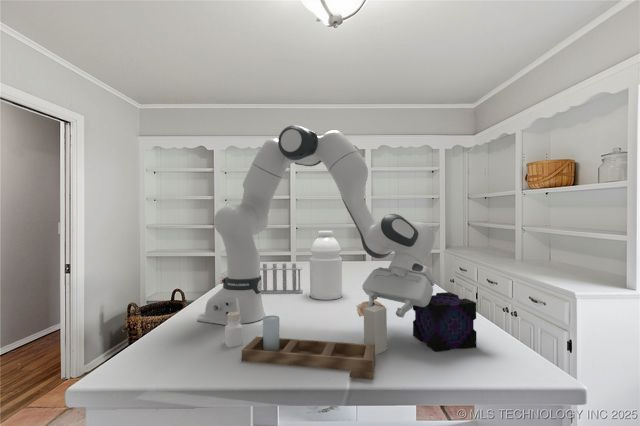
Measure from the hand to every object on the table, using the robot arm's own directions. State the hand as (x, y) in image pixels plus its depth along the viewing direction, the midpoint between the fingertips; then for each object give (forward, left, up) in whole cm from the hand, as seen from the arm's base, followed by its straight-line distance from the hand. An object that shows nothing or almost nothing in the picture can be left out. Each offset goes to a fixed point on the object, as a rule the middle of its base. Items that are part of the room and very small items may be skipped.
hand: (384, 312), depth 92 cm
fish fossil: (-6, +31, -10) cm, 33 cm away
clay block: (-2, -3, -9) cm, 10 cm away
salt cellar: (-27, -14, -8) cm, 31 cm away
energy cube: (+16, +7, -10) cm, 20 cm away
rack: (-17, -14, -9) cm, 24 cm away
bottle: (-26, +51, -9) cm, 58 cm away
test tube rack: (-50, +54, -10) cm, 74 cm away
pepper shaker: (-39, -9, -9) cm, 41 cm away
